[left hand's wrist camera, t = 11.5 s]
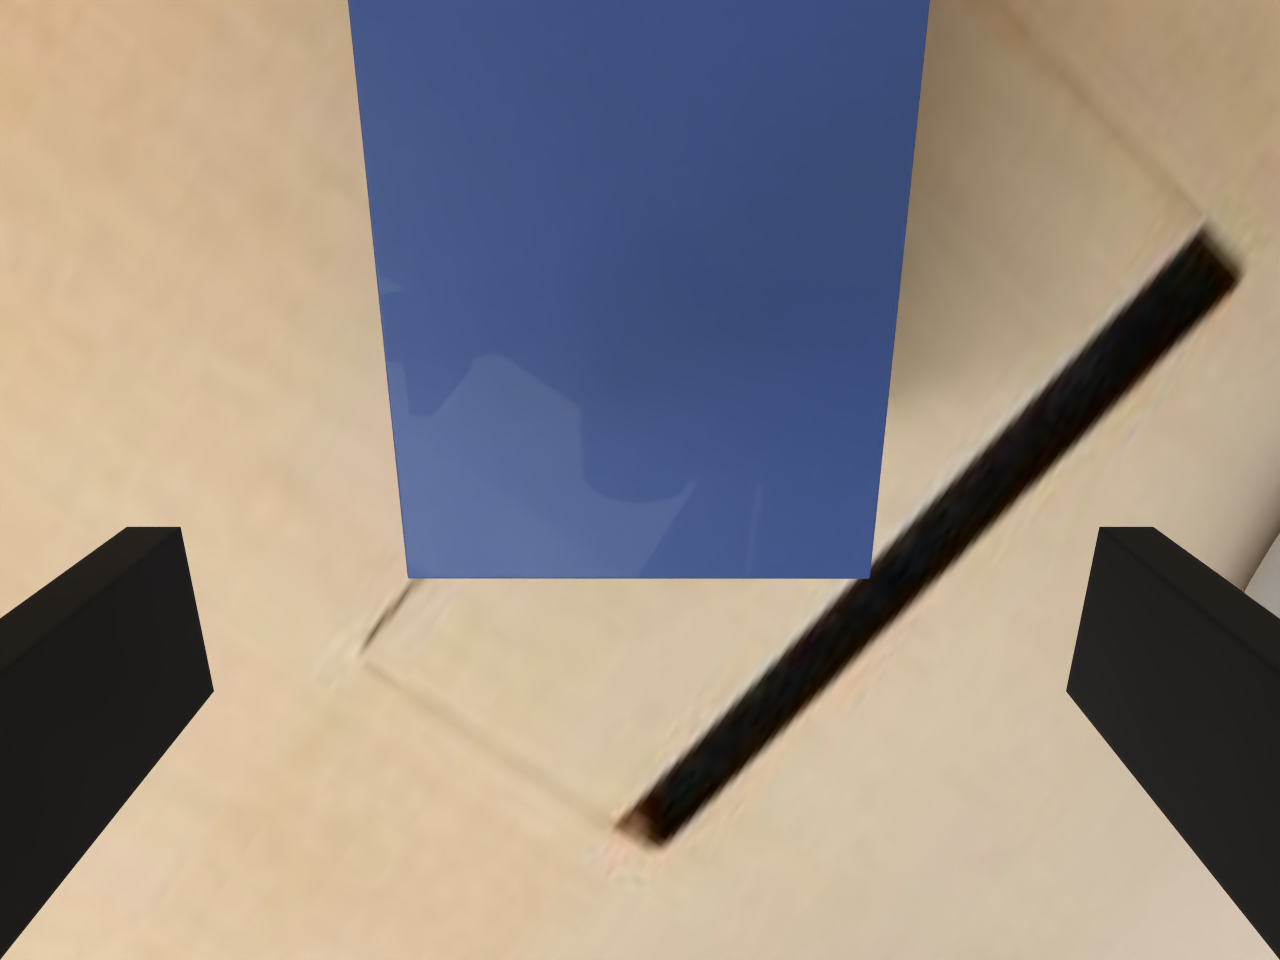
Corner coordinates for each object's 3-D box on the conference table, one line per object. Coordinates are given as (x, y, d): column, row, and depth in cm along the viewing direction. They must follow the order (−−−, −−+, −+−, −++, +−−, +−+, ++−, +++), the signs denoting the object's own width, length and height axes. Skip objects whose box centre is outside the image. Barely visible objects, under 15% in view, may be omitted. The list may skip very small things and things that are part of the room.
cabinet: (452, -103, 26) (315, -293, 15) (825, -103, 26) (961, -293, 15) (487, 434, 31) (407, 579, 21) (791, 434, 31) (870, 579, 21)
